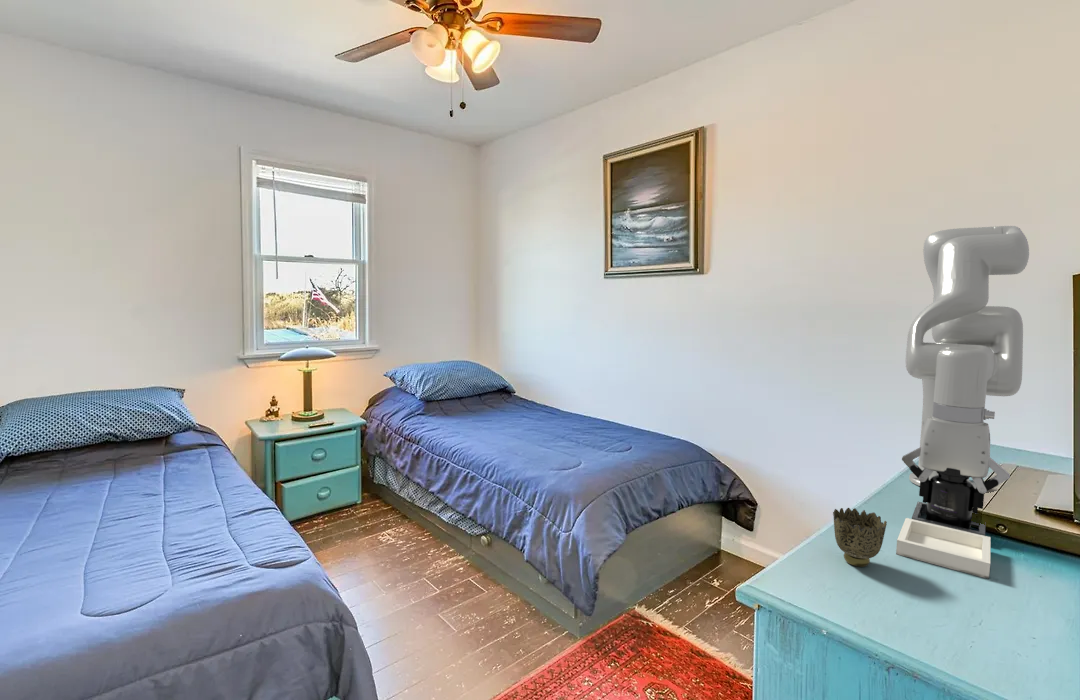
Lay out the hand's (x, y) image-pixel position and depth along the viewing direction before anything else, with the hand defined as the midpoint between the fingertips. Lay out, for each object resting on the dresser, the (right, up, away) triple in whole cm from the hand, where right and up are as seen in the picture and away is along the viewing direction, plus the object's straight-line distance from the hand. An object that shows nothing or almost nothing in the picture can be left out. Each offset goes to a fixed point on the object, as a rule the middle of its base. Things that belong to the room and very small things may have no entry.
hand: (949, 505), depth 99 cm
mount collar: (0, -4, 0) cm, 4 cm away
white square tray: (-9, -5, -10) cm, 14 cm away
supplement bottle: (0, -4, 0) cm, 4 cm away
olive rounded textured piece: (-26, -6, -13) cm, 30 cm away
